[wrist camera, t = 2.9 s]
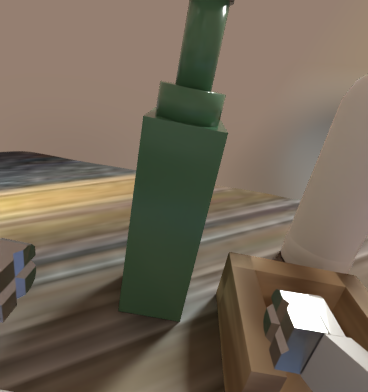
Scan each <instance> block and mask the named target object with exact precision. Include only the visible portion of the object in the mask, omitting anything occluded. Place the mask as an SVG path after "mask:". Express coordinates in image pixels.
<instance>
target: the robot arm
mask: <svg viewBox="0 0 368 392" xmlns="http://www.w3.org/2000/svg"><path fill="white" fill-rule="evenodd" d="M34 256H35V246H34V245H32V244H29V243H24V242H19V241H14V240H10V239H5V238H0V322H4V321H5V320H6V318H7V317H8V316H9V315H10V313H11V312H12V311H13V310H14V308H15V307H16V306H17V298H20V297H22V296H24V295H26V293H27V292H28V291H29V289H30V288H31V286H32V284H33V282H34V279H35V274H36V265H35V264H34V263H33V262H32V260H31V259H32V258H33V257H34ZM271 300H272V303H273V304H272V305H270V306H268V307H267V308H266V311H265V314H264V320H263V328H264V333H265V337H266V338H267V339H268V340H269V341H270V342H271V345H270V347H269V352H270V356H271V359H272V363H273V367H274V369H276V370H281V371H286V372H291V373H296V374H301V377H302V378H303V380H304V381H305V382H306V384H307V385H308V386H309V388H310V389H311V390H312V391H313V392H368V352H367V351H366V350H365V349H364V348H362V347H361V346H360V345H359V344H357V343H356V342H355V341H354V340H353V339H351V338H348V337H346V336H345V335H344V333H343V331H342V329H341V328H340V326H339V324H338V323H337V321H336V319H335V317H334V316H333V314H332V312H331V311H330V309H329V307H328V305H327V304H326V302H325V300H324V299H323V298H322V297H321V296H317V295H311V294H302V293H296V292H291V291H285V290H279V289H276V290H275V291H274V292H273V294H272V296H271ZM0 392H12V391H6V390H0Z"/></svg>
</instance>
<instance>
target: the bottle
mask: <svg viewBox="0 0 368 392" xmlns="http://www.w3.org/2000/svg"><path fill="white" fill-rule="evenodd" d="M367 235H368V74H366V75H364V76H363V77H361V78H359V79H358V80H357V81H356V82H355V83H354V84H353V85H352V87H351V88H350V89H349V90H348V92H347V93H346V94H345V96H344V97H343V98H342V100H341V102H340V105H339V107H338V110H337V112H336V115H335V117H334V120H333V122H332V125H331V127H330V130H329V132H328V134H327V137H326V140H325V143H324V144H323V147H322V149H321V152H320V155H319V157H318V160H317V162H316V164H315V167H314V169H313V172H312V174H311V177H310V179H309V182H308V184H307V187H306V189H305V192H304V195H303V197H302V199H301V202H300V204H299V207H298V209H297V211H296V214H295V216H294V219H293V221H292V224H291V226H290V229H289V231H288V232H287V234H286V236H285V239H284V244H283V246H282V249H281V256H282V258H283V259H284V261H285V262H286V263H291V264H296V265H302V266H307V267H312V268H317V269H323V270H328V271H333V272H339V273H344V274H346V273H348V272H349V270H350V268H351V267H352V265H353V262H354V259H355V257H356V255H357V253H358V251H359V249H360V248H361V246H362V244H363V242H364V240H365V238H366V236H367Z"/></svg>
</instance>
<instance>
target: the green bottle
mask: <svg viewBox="0 0 368 392" xmlns="http://www.w3.org/2000/svg"><path fill="white" fill-rule="evenodd" d="M233 4H234V0H189V7H188V12H187V18H186V24H185V30H184V36H183V42H182V48H181V55H180V60H179V66H178V72H177V78H176V84H175V83H169V82H163V81H160V86H159V94H158V101H157V107H155V108H154V109H153V110H151V111H150V112H148V113H147V114H145V115H144V116H143V124H142V132H141V139H140V147H139V154H138V162H137V170H136V178H135V185H134V193H133V201H132V209H131V217H130V224H129V232H128V240H127V248H126V255H125V263H124V271H123V279H122V287H121V294H120V302H119V310H118V311H122V312H127V313H133V314H139V315H144V316H150V317H155V318H161V319H167V320H172V321H178V322H180V319H181V315H182V311H183V307H184V303H185V299H186V295H187V291H188V287H189V284H190V280H191V276H192V272H193V268H194V264H195V260H196V256H197V252H198V248H199V244H200V241H201V237H202V233H203V229H204V225H205V221H206V217H207V213H208V209H209V205H210V202H211V198H212V194H213V190H214V186H215V182H216V178H217V174H218V170H219V166H220V162H221V159H222V155H223V151H224V147H225V143H226V139H227V135H228V132H227V130H226V129H225V127H224V125H223V123H222V122H221V121H220V117H221V113H222V109H223V104H224V100H225V97H226V95H225V94H221V93H217V92H213V91H211V89H212V85H213V80H214V76H215V71H216V66H217V62H218V57H219V53H220V48H221V44H222V39H223V34H224V30H225V24H226V20H227V16H228V11H229V7H230V6H231V5H233Z"/></svg>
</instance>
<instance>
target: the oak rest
mask: <svg viewBox="0 0 368 392" xmlns="http://www.w3.org/2000/svg"><path fill="white" fill-rule="evenodd" d="M276 289H279V290H285V291H291V292H296V293H302V294H311V295H317V296H321V297H322V298H323V299H324V300H325V302H326V304H327V305H328V307H329V309H330V311H331V312H332V314H333V316H334V317H335V319H336V321H337V323H338V324H339V326H340V328H341V329H342V331H343V333H344V335H345V336H346V337H348V338H351V339H353V340H354V341H355V342H356V343H357V344H359V345H360V346H361V347H362V348H364V349H365V350H366V351H367V352H368V290H367V289H366V288H365V287H364V285H363V284H362V283H361V282H360V280H359V279H358V278H357V277H356V276H355V275H349V274H344V273H339V272H333V271H328V270H323V269H317V268H312V267H307V266H302V265H296V264H291V263H286V262H280V261H275V260H270V259H264V258H259V257H254V256H249V255H243V254H238V253H233V252H229V254H228V257H227V260H226V264H225V267H224V270H223V273H222V276H221V280H220V283H219V286H218V289H217V292H216V297H217V308H218V320H219V331H220V342H221V353H222V364H223V376H224V387H225V392H313V391H312V390H311V389H310V388H309V386H308V385H307V384H306V382H305V381H304V380H303V378H302V377H301V374H296V373H291V372H286V371H281V370H276V369H274V367H273V363H272V359H271V356H270V352H269V347H270V345H271V342H270V341H269V340H268V339H267V338H266V337H265V333H264V328H263V320H264V314H265V311H266V308H267V307H268V306H270V305H272V304H273V303H272V300H271V296H272V294H273V292H274V291H275V290H276Z"/></svg>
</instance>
